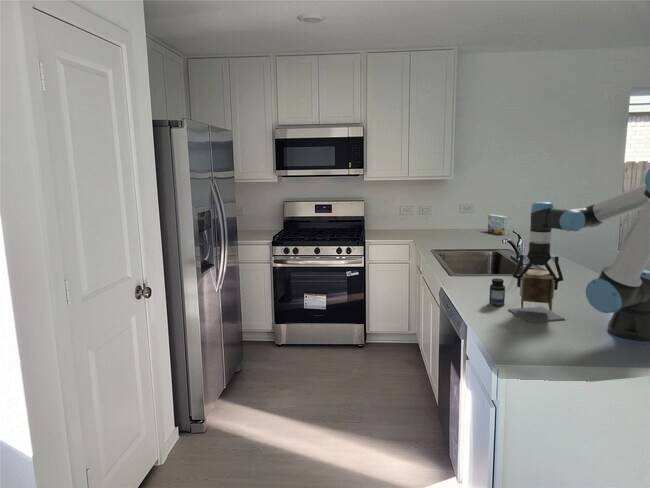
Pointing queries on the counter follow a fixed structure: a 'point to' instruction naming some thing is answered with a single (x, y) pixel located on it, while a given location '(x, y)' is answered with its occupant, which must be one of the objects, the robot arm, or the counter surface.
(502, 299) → the pill bottle
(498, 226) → the snack box
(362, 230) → the counter surface
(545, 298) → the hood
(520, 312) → the mat
